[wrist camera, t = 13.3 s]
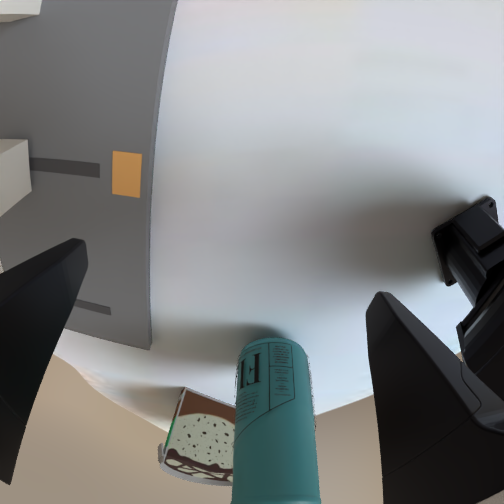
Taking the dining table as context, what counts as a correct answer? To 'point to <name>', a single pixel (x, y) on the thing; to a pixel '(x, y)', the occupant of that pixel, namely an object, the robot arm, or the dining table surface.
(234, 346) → the dining table surface
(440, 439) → the robot arm
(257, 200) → the dining table surface
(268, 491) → the beverage bottle
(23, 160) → the block
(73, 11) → the three pillar stand
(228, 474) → the food container
